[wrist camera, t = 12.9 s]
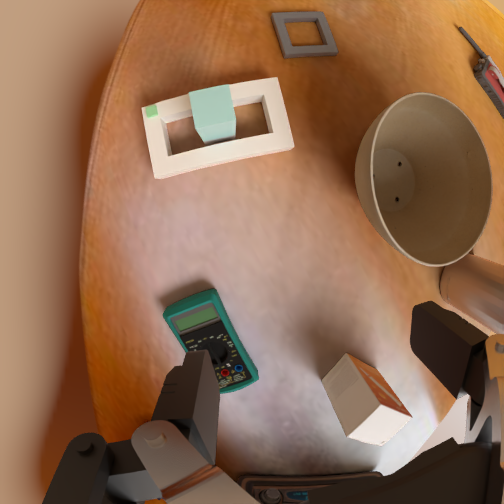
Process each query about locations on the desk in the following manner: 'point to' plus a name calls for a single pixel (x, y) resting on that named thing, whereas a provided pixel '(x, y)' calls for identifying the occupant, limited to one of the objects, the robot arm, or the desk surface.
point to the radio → (292, 486)
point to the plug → (213, 114)
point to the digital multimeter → (212, 338)
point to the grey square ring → (304, 51)
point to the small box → (364, 402)
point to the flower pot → (425, 179)
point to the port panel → (221, 152)
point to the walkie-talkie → (488, 76)
